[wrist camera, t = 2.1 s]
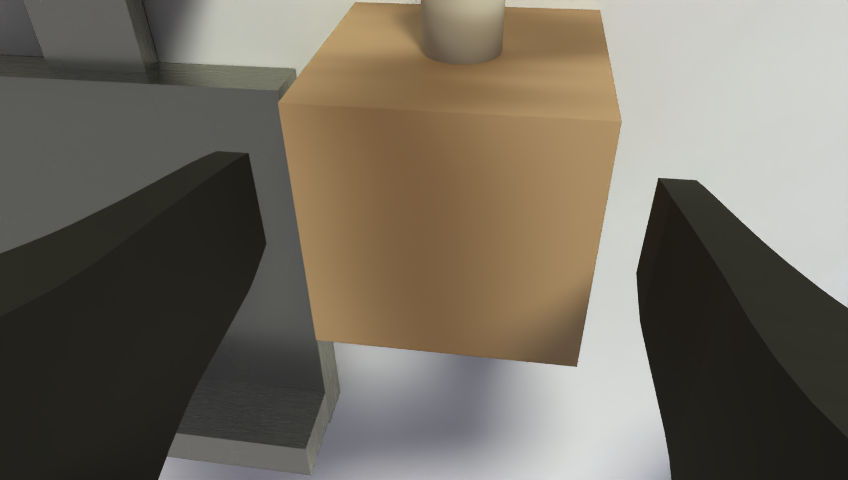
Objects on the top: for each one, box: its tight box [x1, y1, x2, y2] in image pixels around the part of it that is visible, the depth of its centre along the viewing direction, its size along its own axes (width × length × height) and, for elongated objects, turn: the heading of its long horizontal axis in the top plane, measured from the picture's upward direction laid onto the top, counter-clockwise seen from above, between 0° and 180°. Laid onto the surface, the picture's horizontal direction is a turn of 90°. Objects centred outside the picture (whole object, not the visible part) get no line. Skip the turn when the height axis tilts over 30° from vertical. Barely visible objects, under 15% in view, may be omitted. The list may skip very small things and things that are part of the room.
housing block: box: [278, 0, 622, 367], centre depth 12 cm, size 5×6×5 cm
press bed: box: [0, 0, 340, 475], centre depth 14 cm, size 9×22×3 cm, turn 1°
